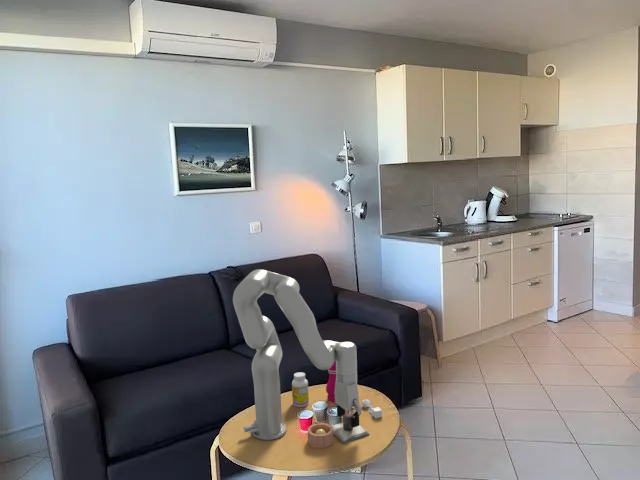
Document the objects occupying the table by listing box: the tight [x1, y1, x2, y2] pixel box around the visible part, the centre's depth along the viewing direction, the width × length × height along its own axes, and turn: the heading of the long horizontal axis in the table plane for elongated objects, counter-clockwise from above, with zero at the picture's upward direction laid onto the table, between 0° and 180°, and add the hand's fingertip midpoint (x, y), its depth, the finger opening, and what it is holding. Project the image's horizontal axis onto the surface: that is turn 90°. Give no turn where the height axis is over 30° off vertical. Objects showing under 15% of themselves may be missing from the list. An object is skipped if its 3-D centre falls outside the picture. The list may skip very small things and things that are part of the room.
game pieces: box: [361, 398, 383, 419], centre depth 210 cm, size 12×3×3 cm, turn 23°
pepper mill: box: [325, 361, 336, 403], centre depth 220 cm, size 7×7×20 cm
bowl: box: [307, 422, 334, 449], centre depth 189 cm, size 9×9×4 cm
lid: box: [331, 413, 368, 441], centre depth 194 cm, size 10×10×6 cm
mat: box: [333, 431, 370, 444], centre depth 194 cm, size 11×11×1 cm
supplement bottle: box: [291, 371, 310, 408], centre depth 217 cm, size 7×7×13 cm
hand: (348, 420), depth 194 cm, fingers open, 9 cm apart
